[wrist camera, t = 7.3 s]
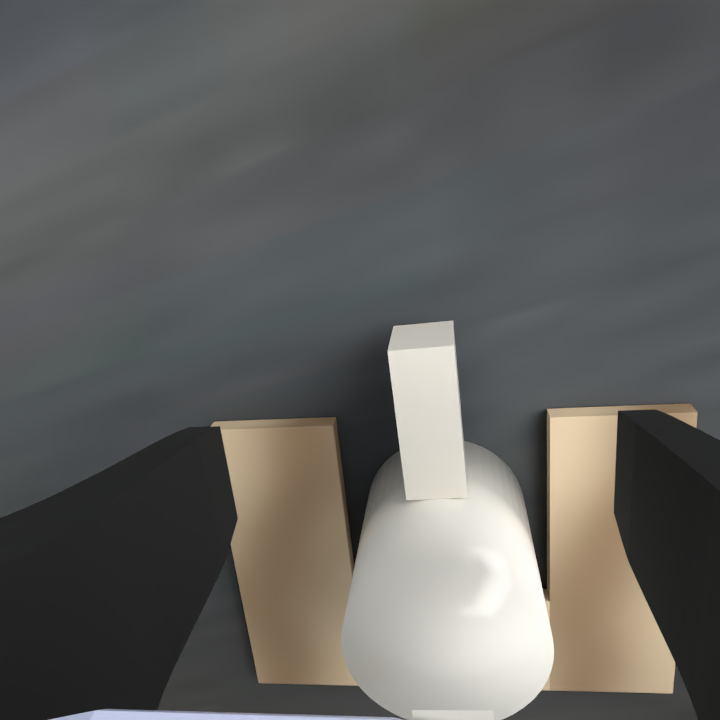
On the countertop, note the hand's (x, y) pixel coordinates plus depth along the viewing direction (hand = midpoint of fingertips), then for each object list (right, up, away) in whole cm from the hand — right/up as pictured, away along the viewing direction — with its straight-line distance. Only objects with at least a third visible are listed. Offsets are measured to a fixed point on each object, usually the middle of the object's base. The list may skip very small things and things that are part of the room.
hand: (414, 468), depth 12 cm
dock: (+2, -5, +10) cm, 11 cm away
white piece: (+2, -1, +9) cm, 9 cm away
